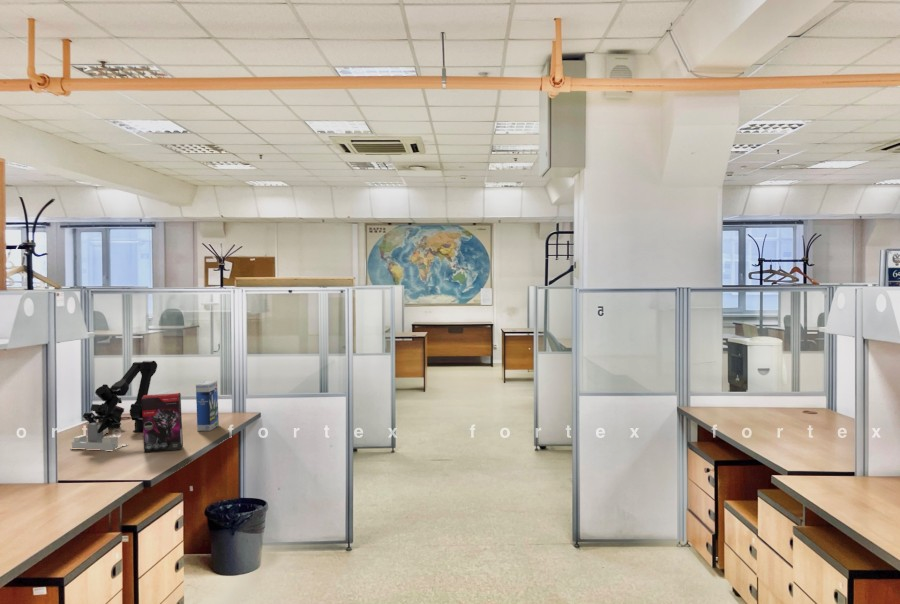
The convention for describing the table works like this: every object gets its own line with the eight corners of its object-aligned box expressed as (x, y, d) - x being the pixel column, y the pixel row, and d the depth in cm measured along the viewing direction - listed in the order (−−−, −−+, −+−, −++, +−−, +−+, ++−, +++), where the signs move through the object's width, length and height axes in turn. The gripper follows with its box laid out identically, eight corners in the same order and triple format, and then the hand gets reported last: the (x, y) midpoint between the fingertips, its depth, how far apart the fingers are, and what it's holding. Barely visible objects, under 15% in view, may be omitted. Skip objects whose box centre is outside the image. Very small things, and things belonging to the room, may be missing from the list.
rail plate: (89, 442, 317) (88, 432, 316) (128, 445, 311) (128, 434, 311) (69, 449, 305) (69, 438, 305) (110, 451, 300) (110, 440, 299)
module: (94, 443, 311) (93, 422, 311) (103, 444, 310) (102, 422, 309) (88, 445, 307) (87, 424, 307) (97, 446, 306) (96, 424, 306)
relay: (108, 433, 336) (108, 426, 336) (103, 435, 331) (102, 428, 331) (97, 433, 336) (97, 426, 336) (92, 435, 332) (92, 428, 331)
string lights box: (210, 431, 338) (208, 384, 336) (196, 431, 337) (194, 384, 336) (219, 425, 351) (217, 380, 350) (205, 425, 351) (204, 380, 350)
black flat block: (92, 426, 346) (104, 401, 348) (116, 434, 350) (128, 409, 351) (91, 427, 343) (103, 402, 344) (115, 435, 346) (127, 411, 348)
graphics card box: (142, 453, 296) (140, 397, 295) (145, 449, 303) (143, 394, 301) (181, 450, 300) (179, 395, 299) (183, 446, 307) (181, 392, 306)
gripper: (84, 396, 314) (67, 423, 303) (115, 397, 309) (99, 424, 299) (97, 408, 322) (81, 435, 311) (127, 409, 317) (112, 436, 307)
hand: (93, 432), depth 307 cm, fingers closed on module, 5 cm apart
